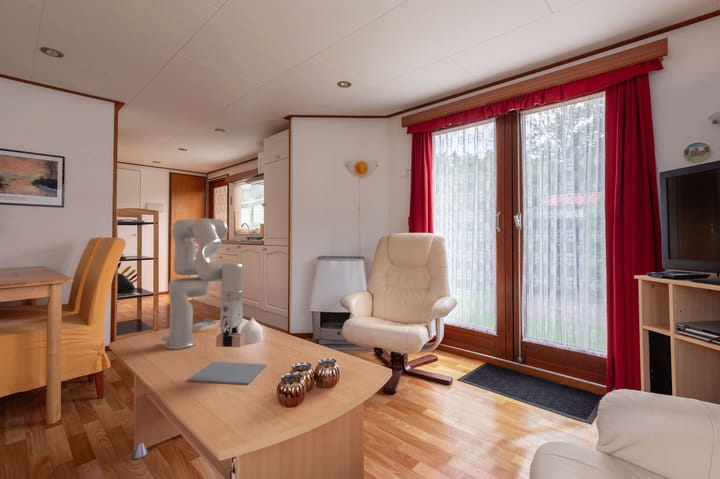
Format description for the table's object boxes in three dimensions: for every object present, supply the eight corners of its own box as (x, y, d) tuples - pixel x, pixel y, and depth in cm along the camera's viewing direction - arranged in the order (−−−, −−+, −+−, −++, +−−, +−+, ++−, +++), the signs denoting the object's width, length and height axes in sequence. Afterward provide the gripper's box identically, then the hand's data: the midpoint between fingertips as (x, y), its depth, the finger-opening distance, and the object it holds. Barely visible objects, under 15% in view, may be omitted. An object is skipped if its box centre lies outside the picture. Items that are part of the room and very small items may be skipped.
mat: (187, 381, 118) (187, 379, 118) (212, 363, 136) (212, 361, 136) (248, 384, 117) (248, 382, 117) (266, 365, 135) (266, 364, 135)
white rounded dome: (237, 339, 170) (237, 315, 170) (258, 336, 177) (259, 313, 177) (243, 345, 161) (244, 319, 161) (266, 341, 168) (266, 317, 168)
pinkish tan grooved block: (239, 347, 124) (240, 336, 124) (216, 346, 124) (216, 335, 125) (244, 343, 128) (245, 332, 128) (221, 342, 129) (222, 332, 129)
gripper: (231, 299, 118) (230, 352, 118) (250, 293, 135) (249, 338, 135) (210, 299, 119) (209, 351, 118) (231, 292, 135) (230, 338, 135)
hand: (230, 344), depth 126 cm, fingers closed on pinkish tan grooved block, 4 cm apart
